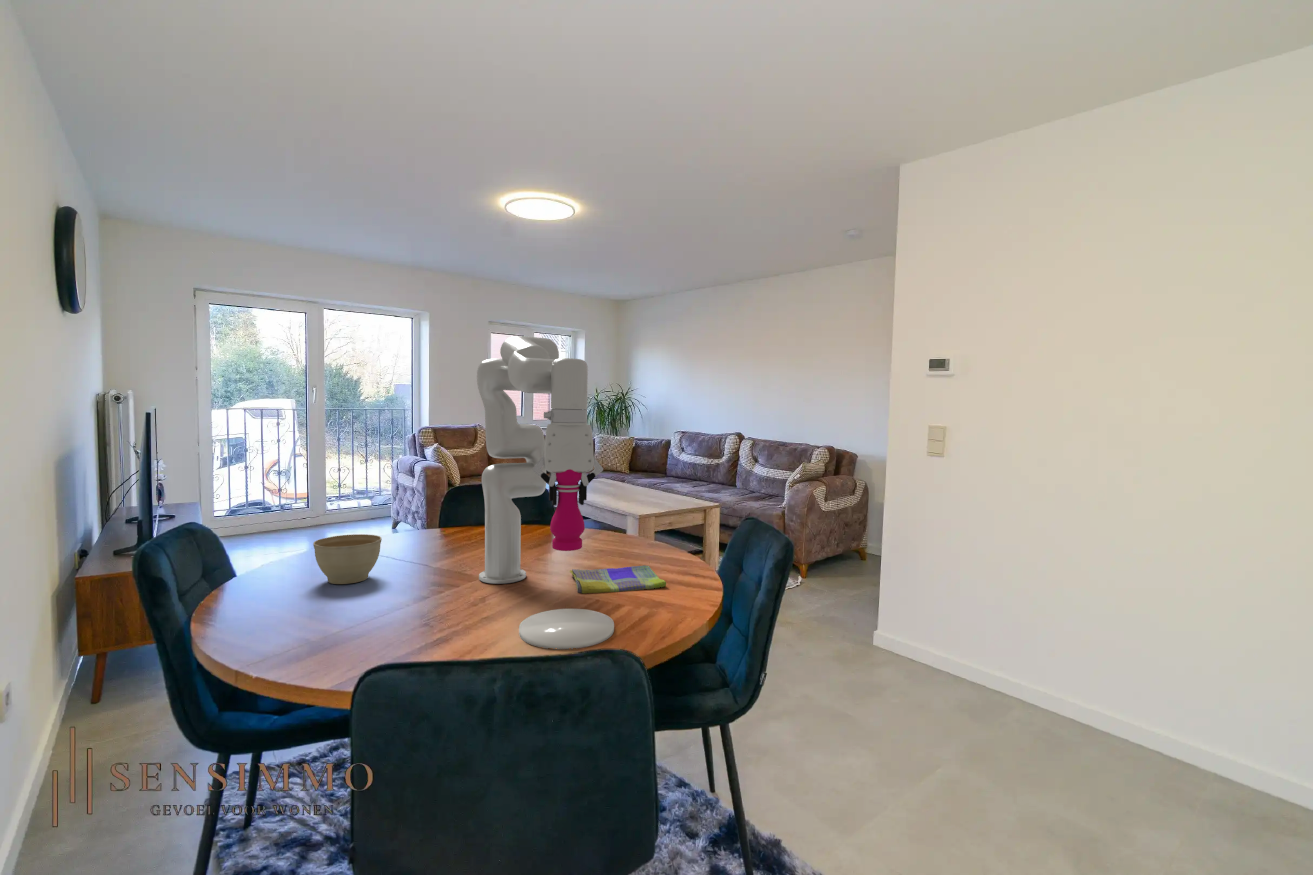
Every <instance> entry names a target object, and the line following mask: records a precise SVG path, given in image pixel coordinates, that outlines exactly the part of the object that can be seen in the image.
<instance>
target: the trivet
mask: <svg viewBox="0 0 1313 875" xmlns="http://www.w3.org/2000/svg"><path fill="white" fill-rule="evenodd" d="M614 632H615V623H614V620H613V619H612V618H611V616H609V615H607V614H604V613H602V612H600V611H596V610H591V609H585V608H558V609H551V610H545V611H541V612H538V613H535V614H531V615H529V616H528V617H525V619H523V620H522V621H521V622H520V623H519V626H518V635H519V637H520V639H521V640H522V641H524V642H525V643H526V644H529V645H530V646H531V645H532V646H534V647H537V648H541V647H543V648H542V649H548V648H553V649H552V650H574V649H573V648H576V649H583V648H587V647H592V646H595V645H598V644H601V643H603V642H605V641H607V640H608V639H609V638H611V637H612V636H613V635H614ZM555 648H557V649H555ZM569 648H571V649H569Z"/></svg>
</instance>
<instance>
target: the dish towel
mask: <svg viewBox="0 0 1313 875" xmlns="http://www.w3.org/2000/svg"><path fill="white" fill-rule="evenodd" d="M569 573H570V574H571V575H572V577H573V579H574V581H575V584H576V590H577V591H576V592H577V593H579V594H583V595H584V594H601V593H603V594H604V593H622V592H632V591H644V589H647V590H654V588H655V589H659V588H660V587H661V588H664V587H666V586H667V581H666V580H664V579H661V578H659V575H657V574H656V573H655V571H654V570H652V568H651V566H649V565H637V566H636V565H634V566H626V567H618V568H610V567H609V568H597V569H596V568H595V569H580V568H579V569H577V568H576V569H573V568H572V569H571V570H569Z"/></svg>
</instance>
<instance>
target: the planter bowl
mask: <svg viewBox="0 0 1313 875" xmlns="http://www.w3.org/2000/svg"><path fill="white" fill-rule="evenodd" d="M382 541H383V540H382V537H381V536H379V535H376V534H355V533H354V534H342V535H334V536H329V537H324V538H323V537H322V538H319V539H317V540H315V541H314V542H313V544H312V545H313V548H314V557H315V560H316V563H317V566H318V567H319V569H320V570H321V572H322V573H323V575H325V577H327V582H328V583H329V584H332V585H333V584H334V585H348V584H355V583H359V582H363V581H365V580H368V578H369V574H370V572H371V571H372V570H373V568H374V567H375V566H376V564H377V561H378V558H379V555H380V552H381V544H382Z"/></svg>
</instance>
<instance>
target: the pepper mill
mask: <svg viewBox="0 0 1313 875" xmlns="http://www.w3.org/2000/svg"><path fill="white" fill-rule="evenodd" d="M581 477H582V473H578V472H575V471H573V470H571V469H568V470H566V471H564V472H561V473H556V482H557V483H556V487H557V505H556V509H555V511H554V513H553V516H552V517H551V521H550V526H549V530H550V532H551V534H552V535H553V537H554V538H552V542H551V543H552V544H551V545H552V546H551V548H552V549H553V550H556V551H560V552H573V551H578V550H580V549H582V548H583V539H582V537H581V535H582V534H583V533H584V532H585V529H586V527H585V520H584V518H583V515H582V513H581V510H580V506H579V498H578V497H579V491H580V489H579V486H580V482H581Z"/></svg>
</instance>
